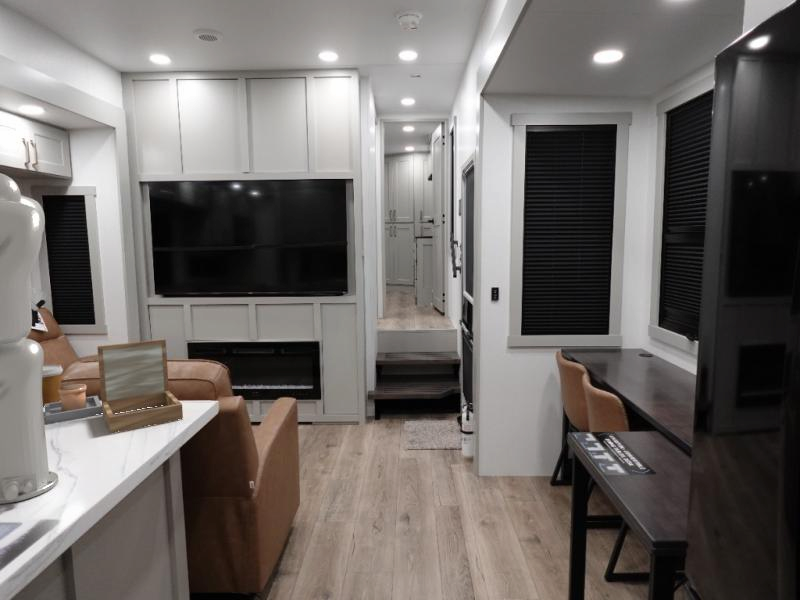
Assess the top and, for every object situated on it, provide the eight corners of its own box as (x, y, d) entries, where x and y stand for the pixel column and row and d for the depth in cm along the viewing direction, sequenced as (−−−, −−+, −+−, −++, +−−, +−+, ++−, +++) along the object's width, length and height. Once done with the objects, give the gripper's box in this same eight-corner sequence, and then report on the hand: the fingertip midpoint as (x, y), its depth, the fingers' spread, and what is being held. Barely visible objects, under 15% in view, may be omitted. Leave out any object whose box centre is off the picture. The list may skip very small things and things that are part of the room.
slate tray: (102, 414, 151) (102, 406, 150) (46, 424, 142) (45, 415, 142) (97, 403, 162) (97, 395, 162) (45, 411, 154) (44, 403, 153)
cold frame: (183, 419, 145) (178, 348, 143) (110, 433, 134) (104, 356, 132) (168, 403, 160) (164, 339, 158) (102, 415, 149) (97, 346, 147)
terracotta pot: (89, 410, 151) (87, 387, 151) (60, 415, 147) (58, 392, 146) (86, 404, 157) (85, 382, 156) (59, 409, 153) (57, 386, 152)
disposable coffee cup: (73, 400, 165) (70, 365, 163) (45, 409, 156) (42, 372, 154) (50, 398, 167) (47, 363, 166) (22, 407, 158) (19, 370, 157)
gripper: (-45, 260, 116) (-38, 333, 117) (46, 258, 126) (52, 326, 127) (-40, 261, 122) (-33, 330, 123) (46, 259, 132) (52, 323, 133)
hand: (10, 328), depth 125 cm, fingers open, 9 cm apart
